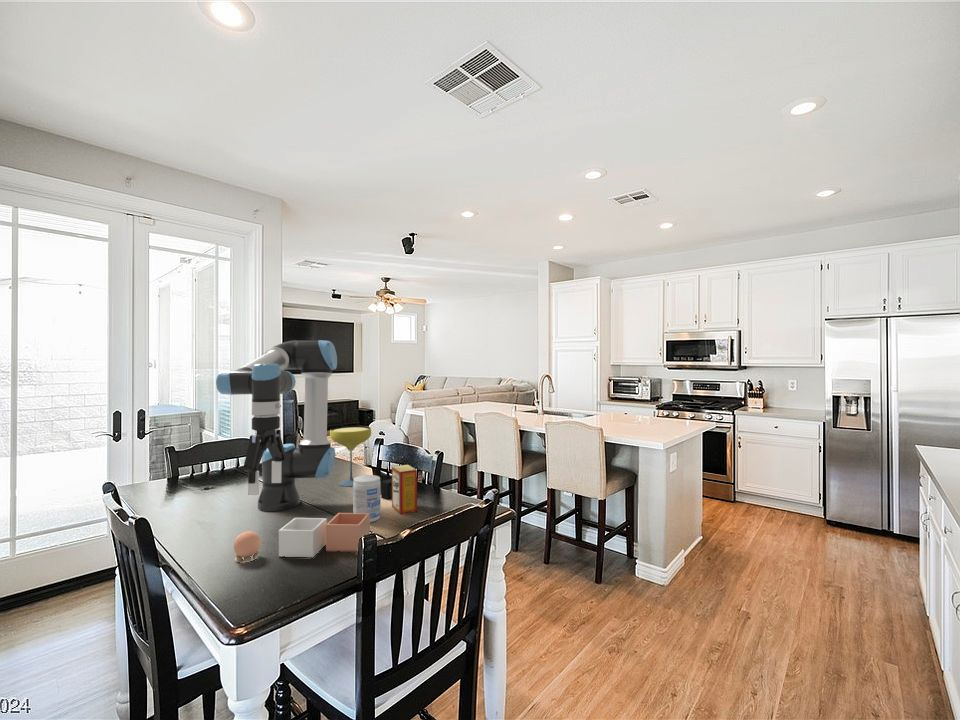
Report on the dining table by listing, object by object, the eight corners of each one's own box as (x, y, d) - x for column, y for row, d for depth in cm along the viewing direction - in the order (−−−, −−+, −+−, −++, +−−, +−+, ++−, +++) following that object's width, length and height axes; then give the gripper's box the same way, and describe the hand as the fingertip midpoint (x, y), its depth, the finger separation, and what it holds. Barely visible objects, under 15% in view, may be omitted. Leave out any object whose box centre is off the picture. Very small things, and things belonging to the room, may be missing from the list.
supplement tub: (371, 525, 158) (371, 482, 158) (347, 522, 161) (347, 480, 161) (385, 515, 168) (385, 475, 167) (362, 513, 170) (362, 473, 170)
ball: (228, 561, 130) (228, 536, 129) (242, 550, 137) (242, 527, 136) (252, 561, 129) (252, 537, 129) (265, 551, 136) (265, 527, 136)
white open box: (278, 557, 133) (278, 530, 133) (295, 543, 143) (294, 517, 143) (313, 558, 133) (312, 531, 133) (327, 543, 143) (326, 518, 143)
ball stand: (230, 563, 130) (230, 558, 130) (243, 553, 136) (243, 548, 136) (252, 563, 129) (251, 559, 129) (264, 553, 136) (263, 549, 136)
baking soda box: (392, 507, 177) (391, 465, 177) (408, 504, 180) (407, 463, 180) (400, 514, 169) (400, 471, 169) (417, 511, 172) (416, 468, 172)
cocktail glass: (341, 477, 220) (340, 425, 219) (377, 478, 217) (377, 425, 217) (323, 488, 202) (322, 431, 201) (362, 489, 199) (362, 432, 199)
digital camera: (389, 501, 185) (389, 483, 184) (380, 498, 188) (380, 481, 188) (408, 494, 193) (408, 478, 193) (399, 492, 196) (399, 476, 196)
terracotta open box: (326, 551, 138) (325, 524, 137) (338, 537, 148) (338, 512, 148) (359, 552, 137) (359, 525, 137) (369, 538, 147) (369, 513, 147)
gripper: (256, 420, 123) (256, 500, 122) (296, 412, 148) (296, 478, 147) (229, 420, 123) (228, 500, 123) (273, 412, 148) (273, 478, 148)
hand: (265, 488), depth 135 cm, fingers open, 13 cm apart
